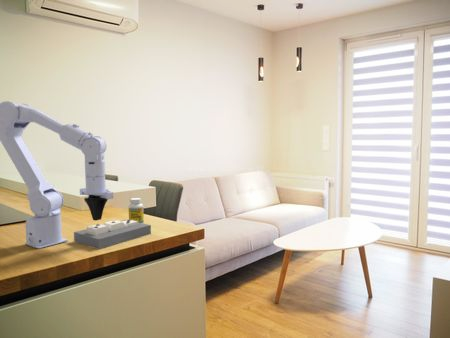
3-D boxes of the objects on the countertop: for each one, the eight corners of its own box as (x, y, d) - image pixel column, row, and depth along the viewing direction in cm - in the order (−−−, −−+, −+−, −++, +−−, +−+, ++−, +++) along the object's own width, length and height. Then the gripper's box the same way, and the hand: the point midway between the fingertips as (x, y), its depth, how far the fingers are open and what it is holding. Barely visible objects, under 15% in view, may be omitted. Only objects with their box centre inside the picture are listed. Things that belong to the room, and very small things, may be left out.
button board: (99, 249, 104) (98, 239, 104) (74, 241, 111) (73, 232, 111) (150, 233, 120) (150, 225, 120) (126, 227, 128) (125, 219, 127)
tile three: (127, 232, 117) (127, 223, 117) (119, 230, 120) (118, 221, 120) (138, 230, 121) (137, 220, 121) (129, 228, 123) (129, 219, 123)
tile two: (95, 238, 108) (95, 228, 107) (87, 236, 110) (86, 226, 110) (108, 235, 111) (107, 225, 111) (99, 233, 114) (99, 223, 113)
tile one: (112, 234, 112) (111, 224, 112) (103, 231, 115) (103, 222, 115) (123, 231, 116) (123, 221, 116) (115, 229, 119) (114, 219, 118)
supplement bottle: (143, 221, 136) (143, 197, 135) (143, 225, 131) (143, 199, 130) (129, 222, 135) (128, 197, 134) (128, 226, 130) (127, 200, 129)
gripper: (121, 176, 108) (122, 220, 109) (92, 173, 116) (94, 214, 118) (101, 178, 102) (102, 225, 103) (72, 175, 111) (74, 218, 112)
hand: (97, 219), depth 110 cm, fingers closed
